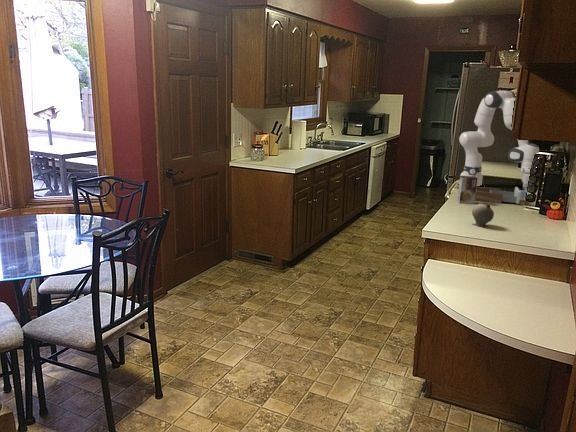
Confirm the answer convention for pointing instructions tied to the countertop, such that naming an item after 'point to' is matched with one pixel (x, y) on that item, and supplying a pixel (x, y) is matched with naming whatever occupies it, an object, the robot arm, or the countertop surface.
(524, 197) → the block
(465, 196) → the coffee box
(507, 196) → the tray
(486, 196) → the box
